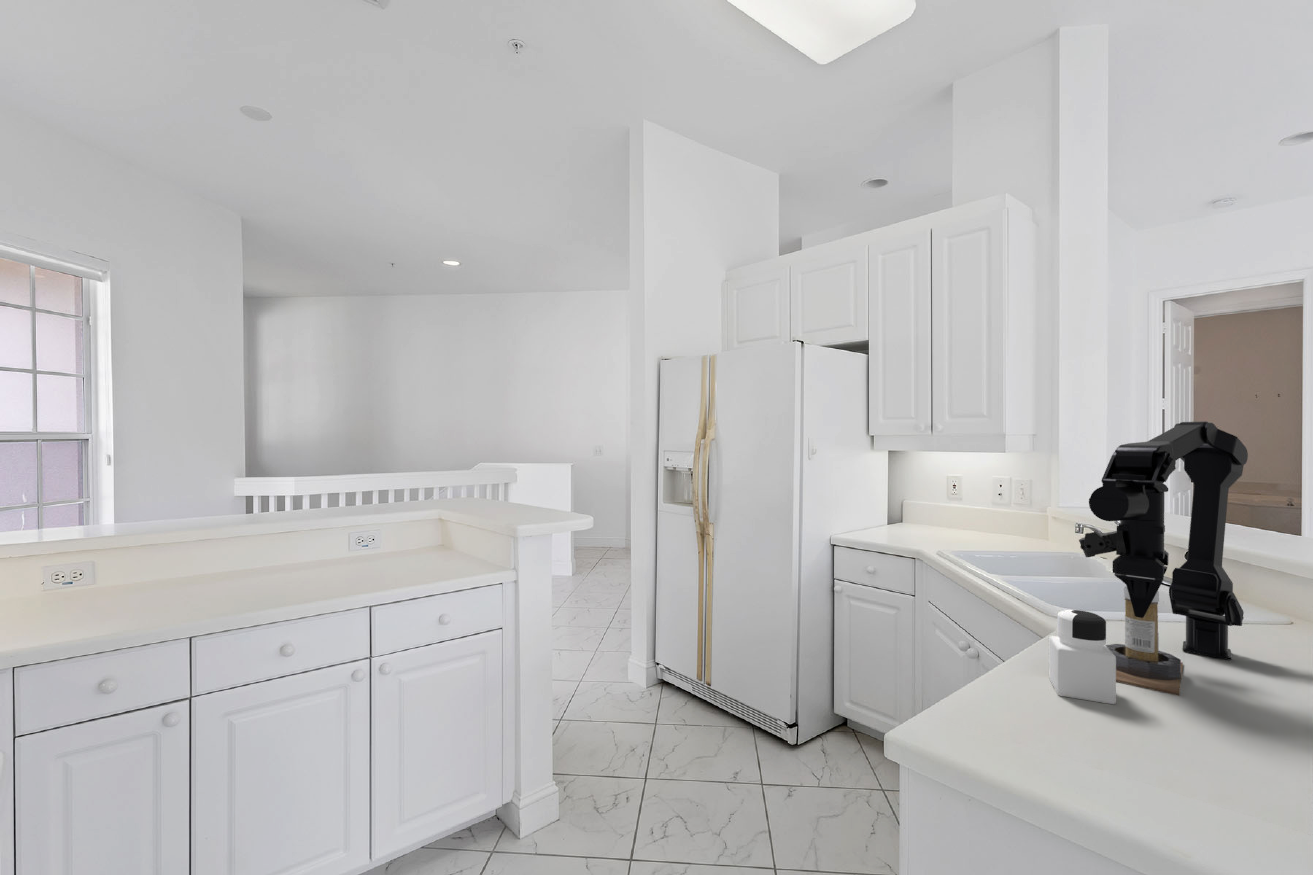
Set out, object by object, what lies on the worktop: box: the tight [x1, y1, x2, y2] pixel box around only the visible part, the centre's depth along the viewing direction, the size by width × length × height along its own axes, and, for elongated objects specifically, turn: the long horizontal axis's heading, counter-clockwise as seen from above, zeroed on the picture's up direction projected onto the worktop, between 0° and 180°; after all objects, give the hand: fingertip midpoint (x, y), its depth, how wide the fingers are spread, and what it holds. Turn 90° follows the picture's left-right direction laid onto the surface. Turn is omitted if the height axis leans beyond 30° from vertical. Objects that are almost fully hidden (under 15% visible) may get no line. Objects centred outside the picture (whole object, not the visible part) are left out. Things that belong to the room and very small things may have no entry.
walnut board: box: [1116, 661, 1184, 697], centre depth 99 cm, size 18×10×1 cm, turn 137°
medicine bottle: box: [1048, 609, 1117, 705], centre depth 90 cm, size 7×7×12 cm
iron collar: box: [1105, 643, 1182, 680], centre depth 99 cm, size 10×10×2 cm
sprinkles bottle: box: [1123, 586, 1160, 662], centre depth 99 cm, size 5×5×14 cm
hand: (1141, 611), depth 99 cm, fingers open, 9 cm apart
